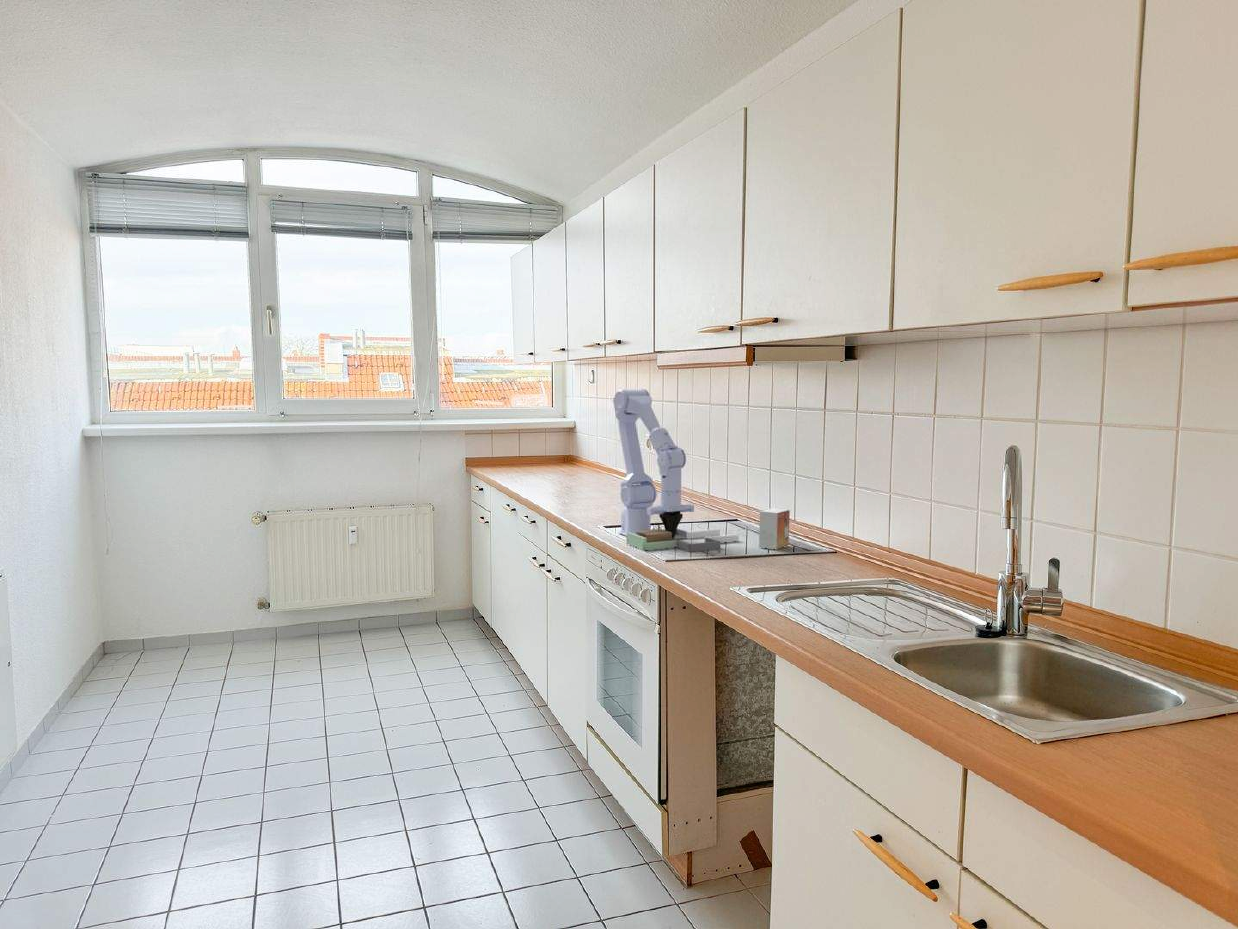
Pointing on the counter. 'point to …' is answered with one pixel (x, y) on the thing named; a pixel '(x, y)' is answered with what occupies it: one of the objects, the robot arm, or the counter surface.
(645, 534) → the walnut block
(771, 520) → the small box
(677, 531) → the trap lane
